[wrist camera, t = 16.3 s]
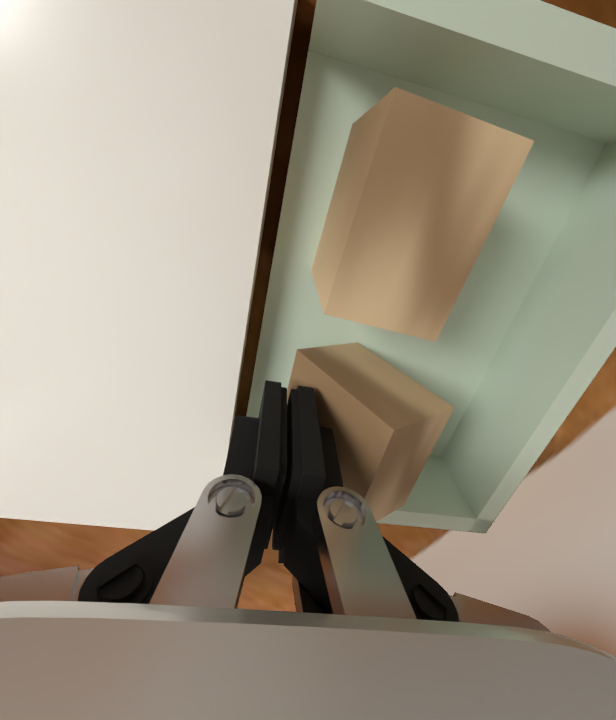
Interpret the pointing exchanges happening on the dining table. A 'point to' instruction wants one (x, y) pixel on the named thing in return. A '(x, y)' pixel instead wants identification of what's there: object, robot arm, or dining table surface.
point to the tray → (502, 247)
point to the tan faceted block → (412, 212)
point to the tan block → (372, 420)
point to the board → (129, 246)
